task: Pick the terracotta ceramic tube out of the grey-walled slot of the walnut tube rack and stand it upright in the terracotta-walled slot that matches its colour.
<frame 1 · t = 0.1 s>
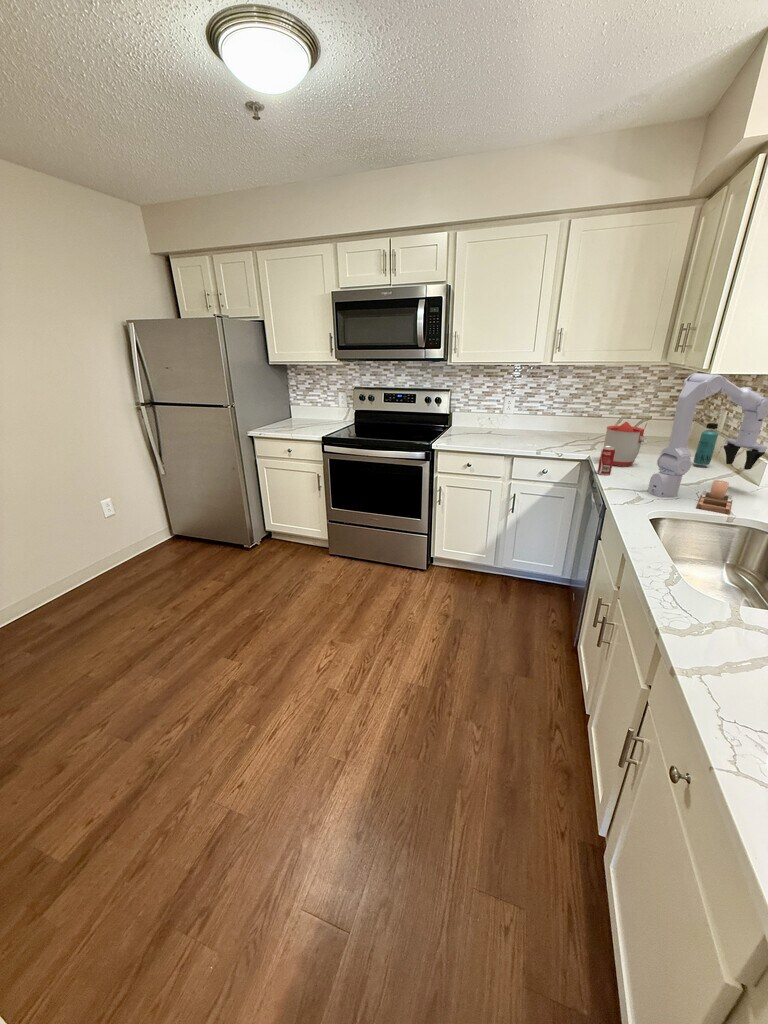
hand: (738, 466, 159), 10 cm above the worktop, fingers open, 7 cm apart
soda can: (603, 474, 186), on the worktop
citrus juicer: (619, 464, 202), on the worktop
tube: (715, 500, 151), point 1 cm above the worktop, touching rack
rack: (713, 506, 148), on the worktop
beverage bottle: (700, 466, 197), on the worktop
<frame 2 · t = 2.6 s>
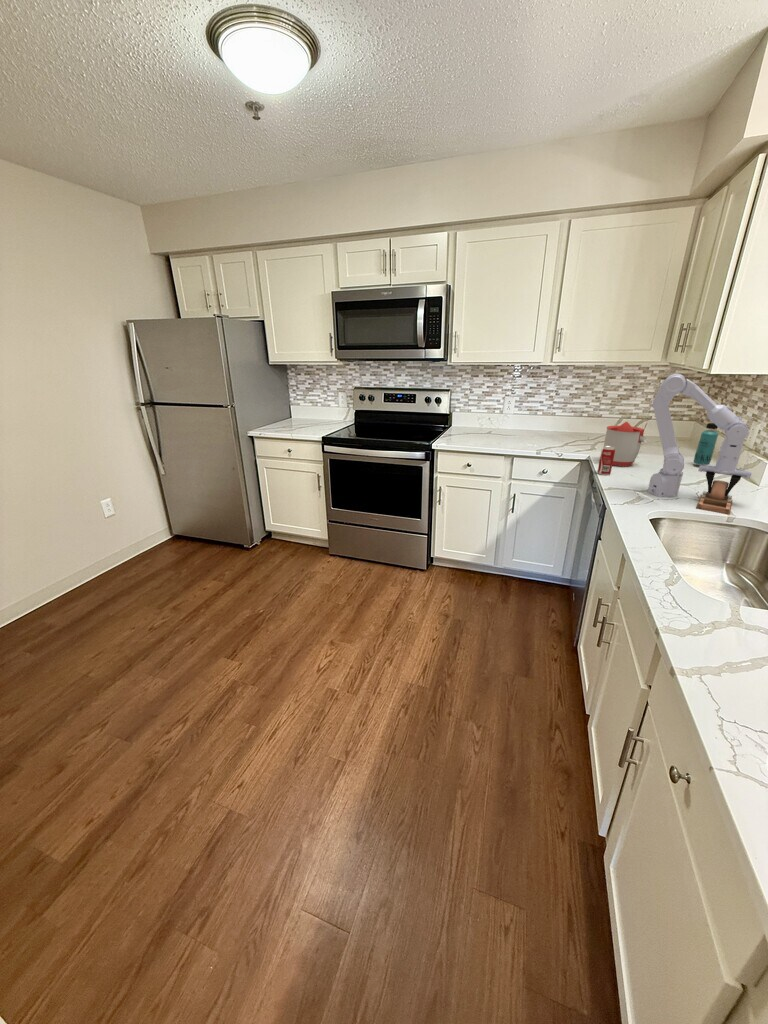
hand: (717, 493, 150), 3 cm above the worktop, fingers closed on tube, 4 cm apart
tube: (715, 500, 151), point 1 cm above the worktop, touching gripper, rack
everything else where it was.
when the fingers open (4 cm above the worktop, at t = 5.9 s): tube stays where it is, resting on rack.
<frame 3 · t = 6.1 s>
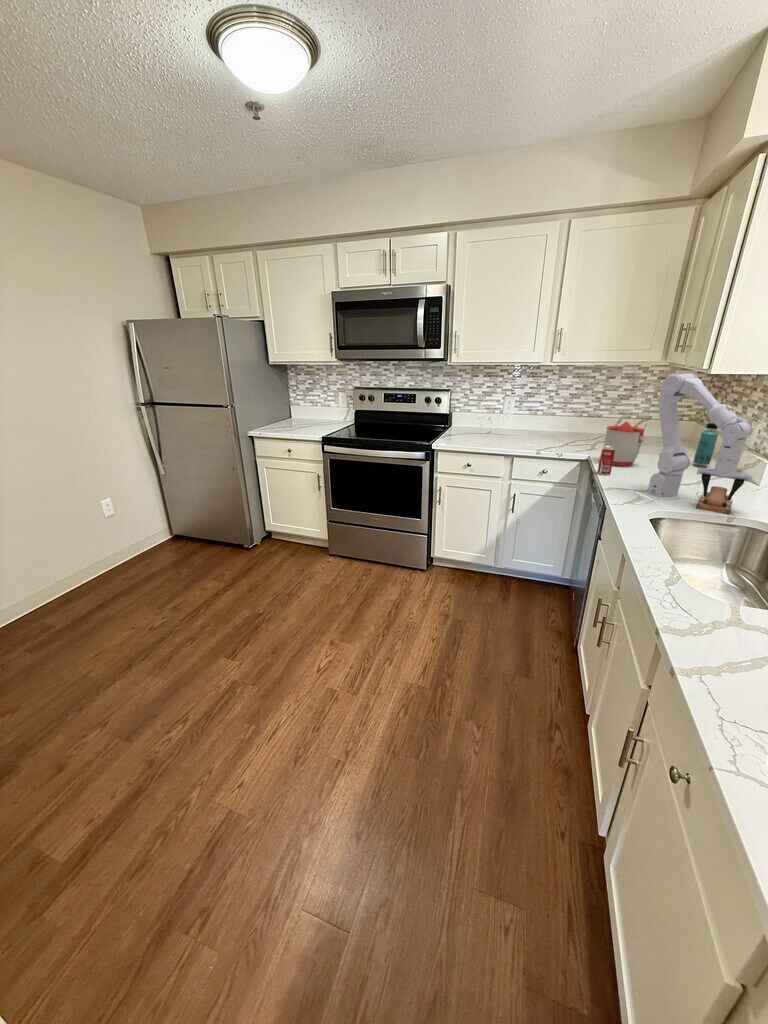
hand: (716, 497, 144), 4 cm above the worktop, fingers open, 6 cm apart
tube: (713, 507, 145), point 1 cm above the worktop, touching rack
everything else where it was.
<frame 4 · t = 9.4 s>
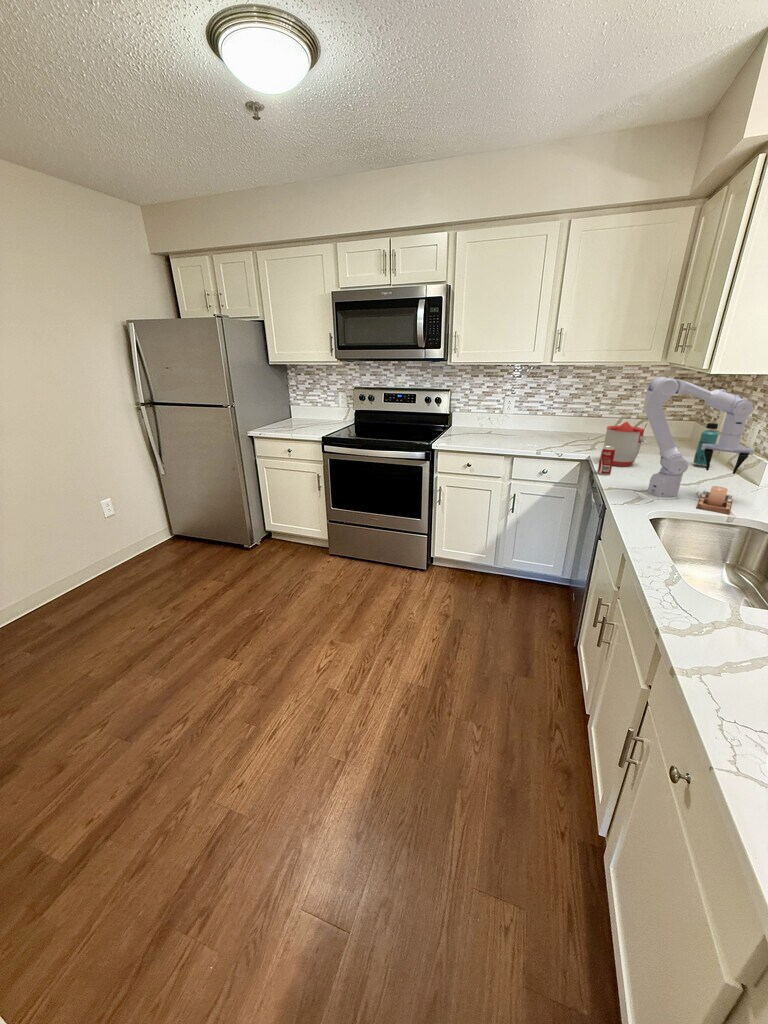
hand: (720, 471, 152), 10 cm above the worktop, fingers open, 7 cm apart
nothing on the worktop moved.
at the end: tube 0.1 cm from the target spot on the rack, point 0.8 cm above the rack's base; tube tilted 1°; the gripper is holding nothing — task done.
